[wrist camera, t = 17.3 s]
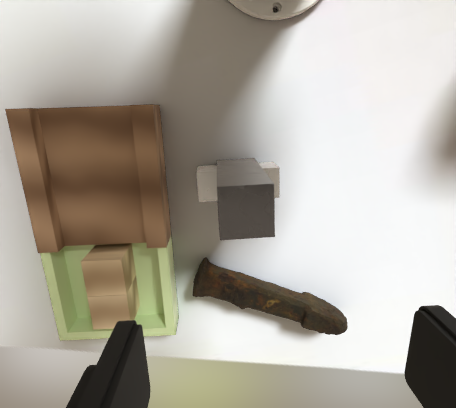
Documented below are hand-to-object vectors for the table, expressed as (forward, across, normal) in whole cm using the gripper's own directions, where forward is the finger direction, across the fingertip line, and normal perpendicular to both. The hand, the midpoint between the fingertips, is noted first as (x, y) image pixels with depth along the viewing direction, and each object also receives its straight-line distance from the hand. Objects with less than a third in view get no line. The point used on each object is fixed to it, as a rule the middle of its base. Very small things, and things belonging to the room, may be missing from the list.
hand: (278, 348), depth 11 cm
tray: (+24, +14, +11) cm, 30 cm away
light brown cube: (+24, +14, +8) cm, 29 cm away
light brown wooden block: (+24, +14, +12) cm, 30 cm away
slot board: (+24, +14, -2) cm, 28 cm away
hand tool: (+25, -4, +13) cm, 28 cm away
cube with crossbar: (+24, 0, -1) cm, 24 cm away
